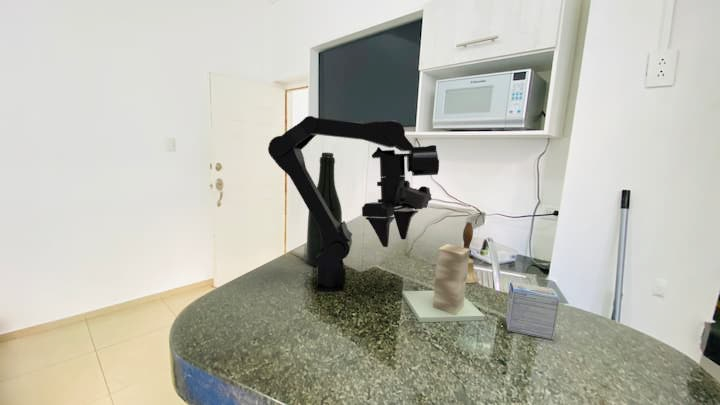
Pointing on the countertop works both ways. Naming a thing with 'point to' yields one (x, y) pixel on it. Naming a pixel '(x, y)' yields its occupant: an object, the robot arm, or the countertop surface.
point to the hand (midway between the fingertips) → (394, 242)
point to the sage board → (426, 313)
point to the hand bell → (470, 273)
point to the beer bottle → (332, 201)
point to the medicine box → (532, 310)
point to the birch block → (451, 278)
